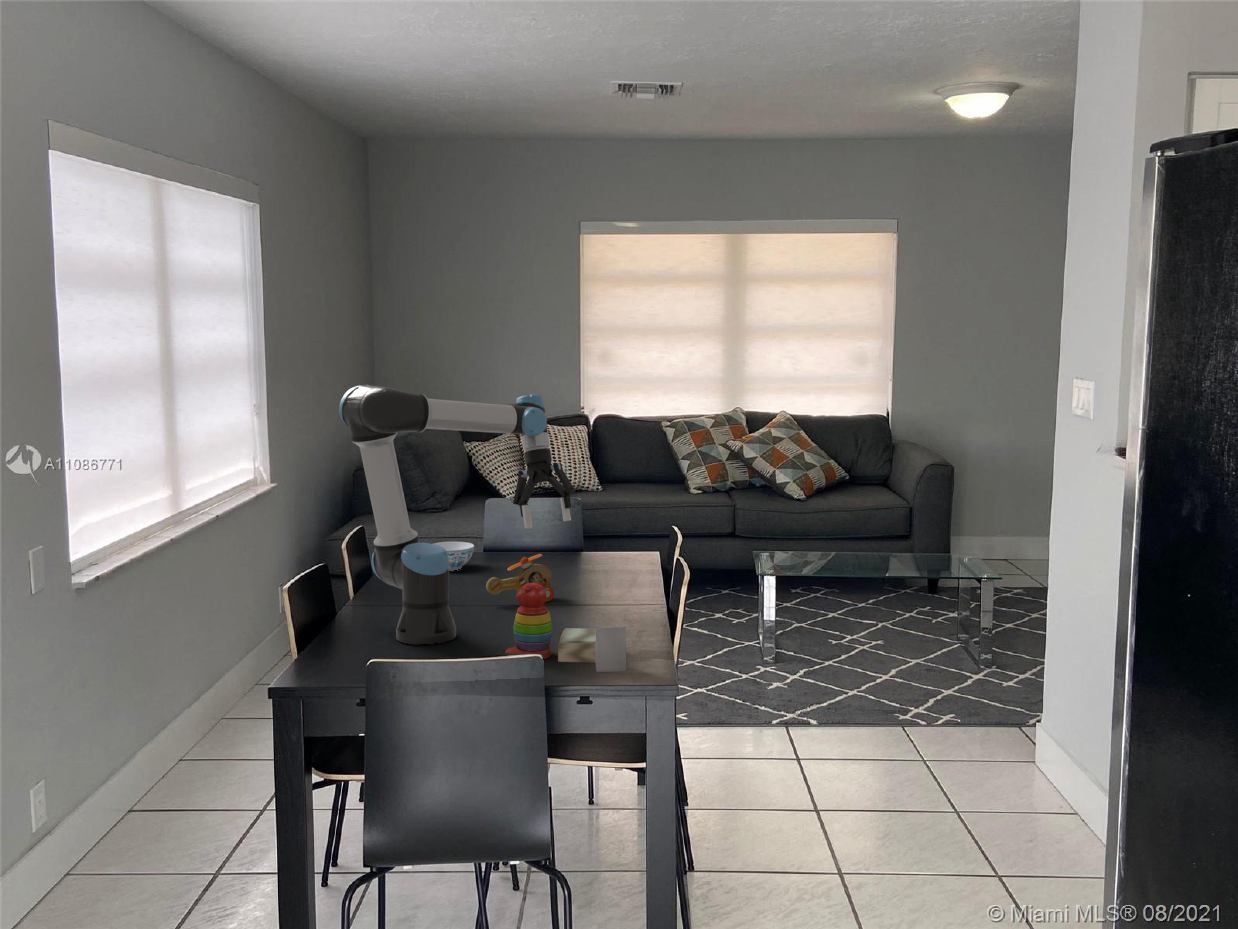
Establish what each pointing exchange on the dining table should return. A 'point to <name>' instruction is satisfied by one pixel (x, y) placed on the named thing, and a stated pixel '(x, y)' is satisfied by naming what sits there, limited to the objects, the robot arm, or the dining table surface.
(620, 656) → the white printed cardboard box
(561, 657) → the base block
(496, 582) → the toy helicopter
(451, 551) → the chinaware
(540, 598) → the stacking bear
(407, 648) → the dining table surface
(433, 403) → the robot arm
